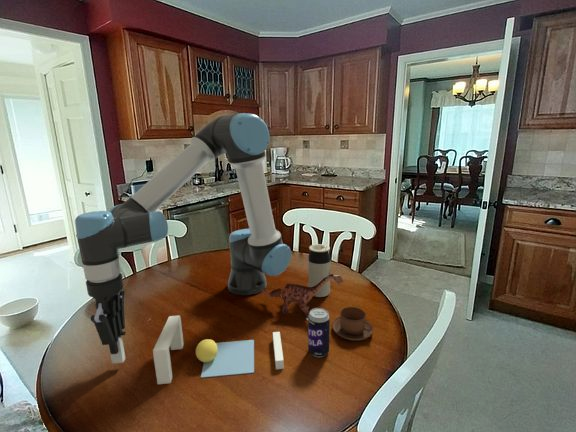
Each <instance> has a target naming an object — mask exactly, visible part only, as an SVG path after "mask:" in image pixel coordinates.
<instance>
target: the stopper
mask: <svg viewBox="0 0 576 432" xmlns="http://www.w3.org/2000/svg"><path fill="white" fill-rule="evenodd" d="M272 343H273V352H274V354H273V355H274V362H275V363H274V364H275V370H284V369H285V363H284V362H285V361H284V353H283V346H282V339H281V332H280V331H273V332H272Z"/></svg>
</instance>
